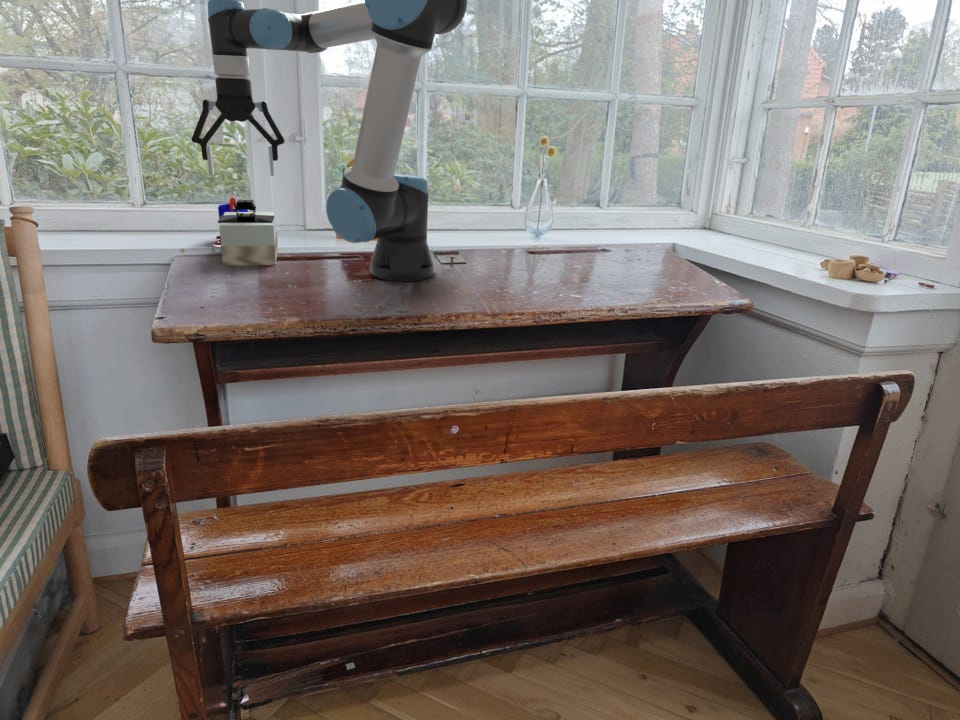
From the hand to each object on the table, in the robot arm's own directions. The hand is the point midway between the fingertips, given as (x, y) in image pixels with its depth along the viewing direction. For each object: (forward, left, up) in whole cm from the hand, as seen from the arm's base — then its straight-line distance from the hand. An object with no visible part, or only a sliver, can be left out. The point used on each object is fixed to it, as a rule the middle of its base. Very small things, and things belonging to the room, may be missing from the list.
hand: (242, 174), depth 156 cm
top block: (0, -1, -16) cm, 16 cm away
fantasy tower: (+4, -16, -20) cm, 26 cm away
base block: (0, -1, -21) cm, 21 cm away
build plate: (0, 0, -11) cm, 11 cm away
